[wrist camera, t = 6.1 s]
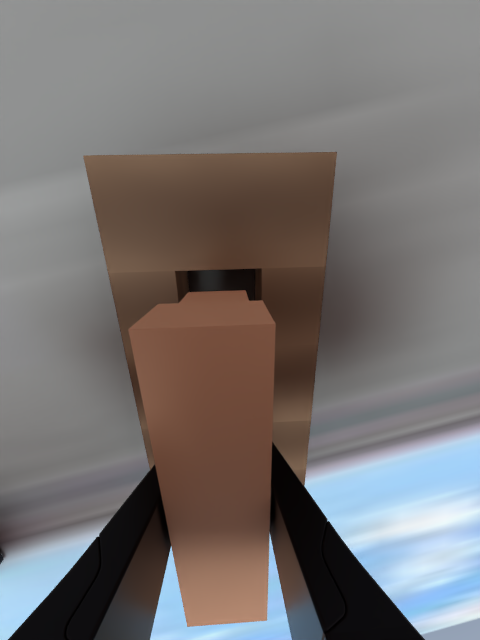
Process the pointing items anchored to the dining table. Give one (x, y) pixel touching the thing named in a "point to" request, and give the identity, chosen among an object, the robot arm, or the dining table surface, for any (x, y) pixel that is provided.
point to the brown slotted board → (224, 253)
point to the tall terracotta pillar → (212, 445)
